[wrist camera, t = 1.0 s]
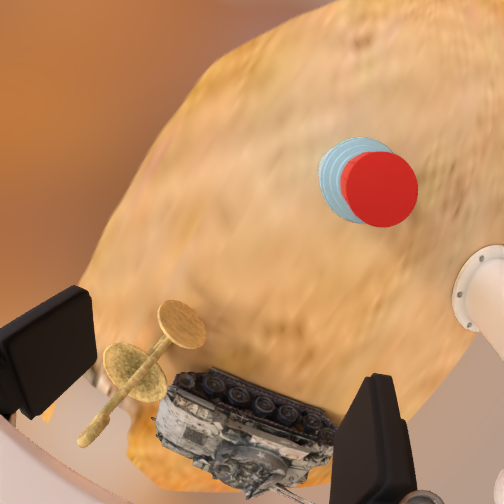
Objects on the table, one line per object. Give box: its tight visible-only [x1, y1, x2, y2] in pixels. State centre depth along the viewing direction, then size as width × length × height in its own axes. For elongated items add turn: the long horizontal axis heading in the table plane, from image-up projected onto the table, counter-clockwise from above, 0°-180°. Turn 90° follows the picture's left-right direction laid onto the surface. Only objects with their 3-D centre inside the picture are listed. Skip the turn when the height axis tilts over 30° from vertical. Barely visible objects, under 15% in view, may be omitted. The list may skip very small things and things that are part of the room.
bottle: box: [318, 137, 394, 224], centre depth 24 cm, size 6×6×20 cm
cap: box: [340, 151, 418, 227], centre depth 16 cm, size 4×4×4 cm
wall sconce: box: [77, 300, 206, 448], centre depth 32 cm, size 14×10×25 cm
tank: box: [151, 368, 338, 504], centre depth 40 cm, size 16×31×15 cm, turn 70°
